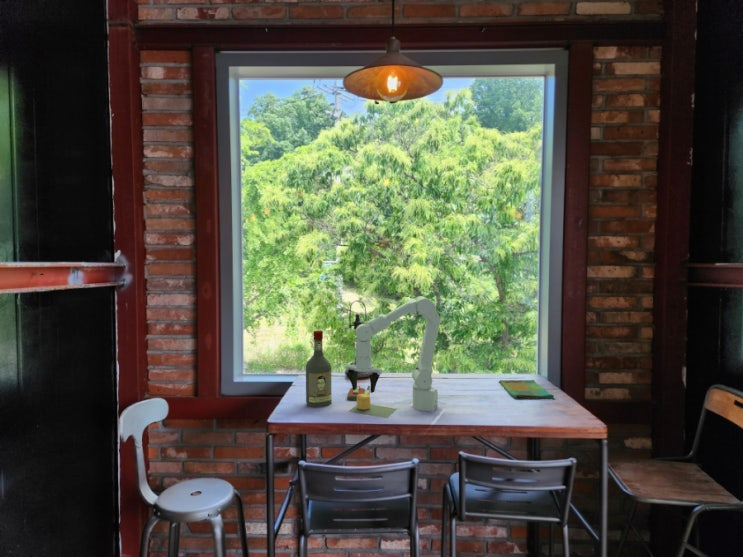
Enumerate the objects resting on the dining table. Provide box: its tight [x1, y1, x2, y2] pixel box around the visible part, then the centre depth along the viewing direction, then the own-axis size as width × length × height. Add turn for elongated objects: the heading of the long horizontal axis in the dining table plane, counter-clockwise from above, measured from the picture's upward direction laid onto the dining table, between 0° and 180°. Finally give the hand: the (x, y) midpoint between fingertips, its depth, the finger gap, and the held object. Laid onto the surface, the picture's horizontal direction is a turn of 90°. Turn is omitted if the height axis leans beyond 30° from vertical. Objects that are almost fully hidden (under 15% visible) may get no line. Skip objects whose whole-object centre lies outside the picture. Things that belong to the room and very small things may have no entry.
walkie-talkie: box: [346, 385, 371, 402], centre depth 185 cm, size 9×4×20 cm
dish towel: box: [498, 379, 555, 400], centre depth 192 cm, size 17×23×2 cm
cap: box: [356, 393, 371, 410], centre depth 167 cm, size 5×5×4 cm
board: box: [348, 403, 398, 419], centre depth 166 cm, size 16×10×1 cm, turn 65°
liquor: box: [305, 330, 333, 409], centre depth 172 cm, size 9×9×30 cm
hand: (363, 390), depth 167 cm, fingers open, 7 cm apart
